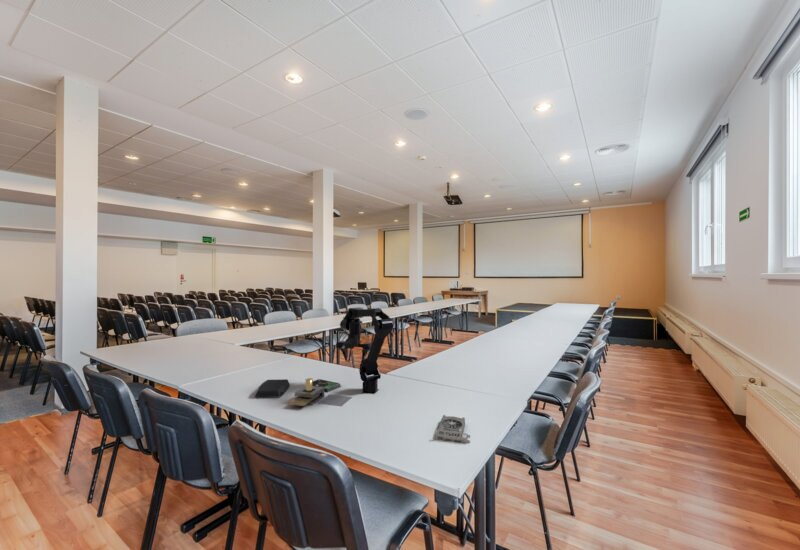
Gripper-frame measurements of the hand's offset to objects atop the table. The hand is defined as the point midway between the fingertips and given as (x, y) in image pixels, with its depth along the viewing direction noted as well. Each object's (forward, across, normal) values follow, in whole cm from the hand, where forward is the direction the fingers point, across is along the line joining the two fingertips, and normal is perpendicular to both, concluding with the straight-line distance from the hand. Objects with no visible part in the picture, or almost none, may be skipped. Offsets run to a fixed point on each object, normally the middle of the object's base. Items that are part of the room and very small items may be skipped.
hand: (354, 361), depth 179 cm
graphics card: (+13, +57, -40) cm, 70 cm away
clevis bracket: (+12, -10, -30) cm, 34 cm away
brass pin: (+12, -10, -28) cm, 32 cm away
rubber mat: (+12, +1, -24) cm, 27 cm away
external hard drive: (+13, -34, -21) cm, 42 cm away
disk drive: (+13, -13, -9) cm, 20 cm away
